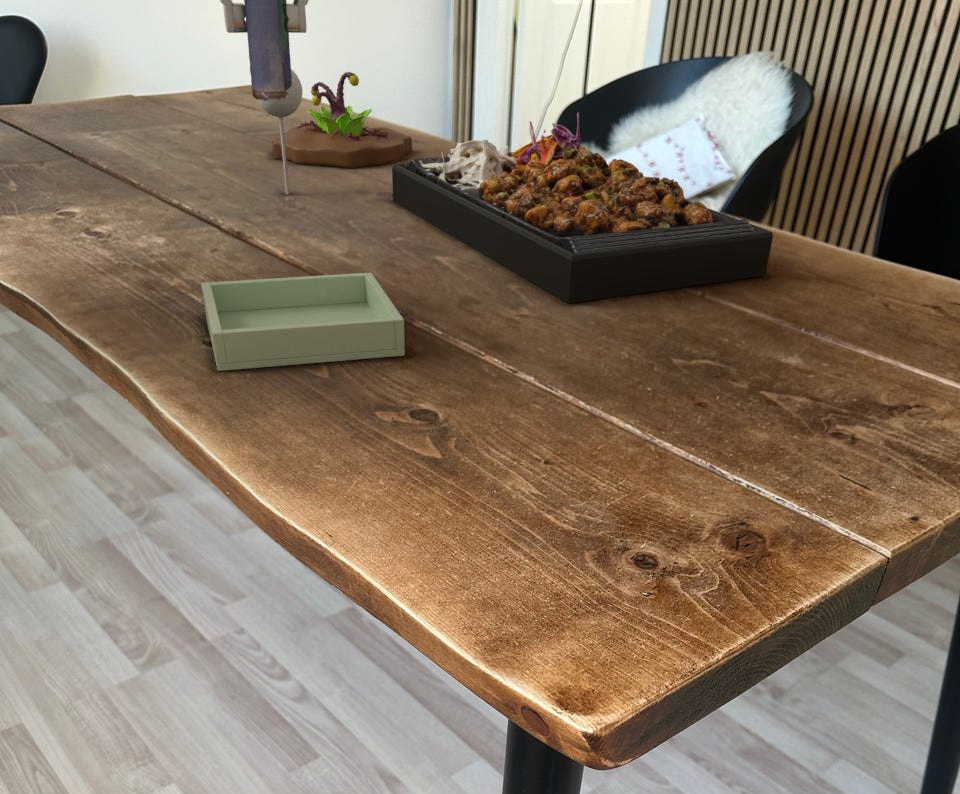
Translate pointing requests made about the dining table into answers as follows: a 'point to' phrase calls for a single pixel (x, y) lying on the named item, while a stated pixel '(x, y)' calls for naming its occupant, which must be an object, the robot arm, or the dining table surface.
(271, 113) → the lollipop
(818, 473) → the dining table surface
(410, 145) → the plant
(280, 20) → the flask
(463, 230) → the food platter
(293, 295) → the tray
